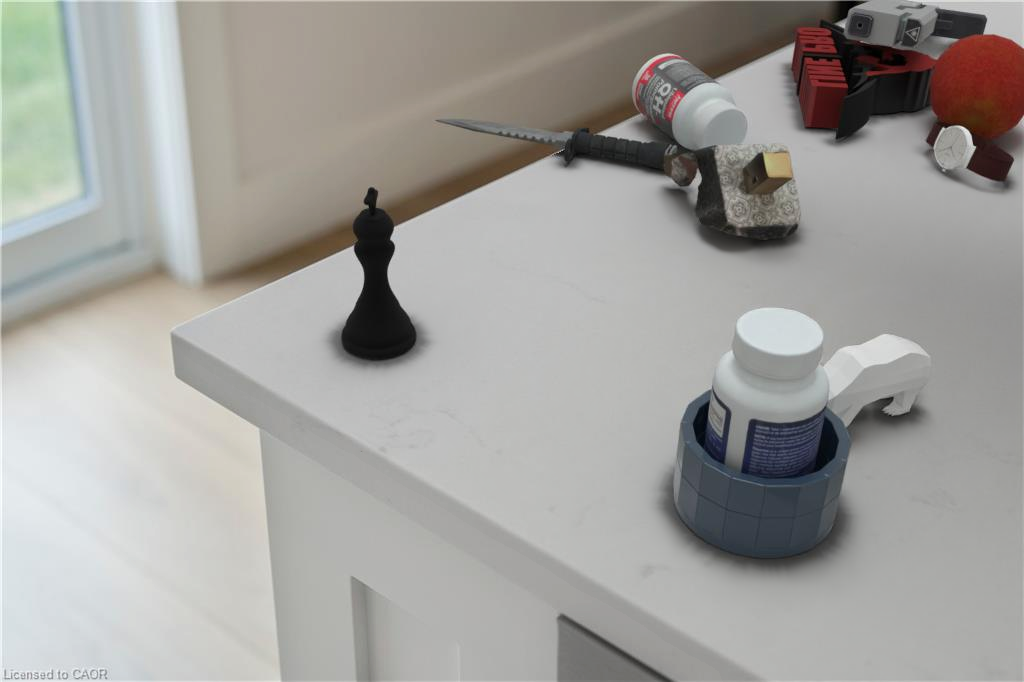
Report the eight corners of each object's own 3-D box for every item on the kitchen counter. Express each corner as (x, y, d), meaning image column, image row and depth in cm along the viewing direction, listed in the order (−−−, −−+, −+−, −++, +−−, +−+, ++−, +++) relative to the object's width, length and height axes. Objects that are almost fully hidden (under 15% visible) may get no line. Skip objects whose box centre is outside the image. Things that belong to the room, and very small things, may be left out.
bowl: (774, 436, 67) (786, 368, 64) (868, 530, 61) (885, 459, 58) (644, 474, 64) (651, 405, 62) (729, 577, 58) (740, 505, 56)
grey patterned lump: (720, 120, 92) (831, 123, 82) (737, 210, 94) (847, 224, 84) (629, 151, 89) (732, 159, 78) (648, 243, 91) (751, 262, 80)
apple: (999, 71, 91) (1015, 2, 95) (901, 101, 96) (920, 35, 100) (1044, 143, 95) (1058, 74, 99) (947, 168, 100) (963, 102, 104)
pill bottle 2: (826, 486, 63) (860, 324, 57) (776, 544, 59) (807, 378, 54) (731, 444, 65) (755, 285, 60) (678, 497, 62) (698, 334, 56)
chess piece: (330, 353, 73) (318, 200, 67) (356, 313, 76) (347, 165, 71) (403, 364, 72) (397, 211, 66) (425, 324, 75) (421, 174, 70)
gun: (990, 12, 118) (883, -7, 121) (978, 29, 96) (848, 6, 99) (982, 38, 119) (877, 20, 122) (969, 62, 97) (841, 38, 100)
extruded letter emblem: (806, 138, 98) (951, 146, 97) (813, 96, 96) (961, 105, 95) (787, 55, 113) (913, 62, 112) (793, 17, 111) (921, 24, 110)
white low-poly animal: (925, 409, 69) (943, 340, 67) (812, 451, 66) (826, 380, 63) (894, 385, 71) (911, 317, 68) (783, 425, 68) (795, 355, 65)
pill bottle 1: (627, 62, 97) (693, 111, 90) (686, 43, 99) (756, 89, 91) (631, 124, 101) (695, 175, 93) (689, 104, 102) (756, 153, 95)
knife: (449, 120, 101) (422, 141, 97) (449, 97, 100) (422, 118, 96) (680, 158, 95) (662, 182, 91) (683, 134, 94) (664, 158, 90)
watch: (998, 144, 89) (967, 187, 90) (1034, 166, 91) (1003, 208, 93) (929, 104, 95) (901, 145, 96) (965, 126, 97) (937, 166, 98)
